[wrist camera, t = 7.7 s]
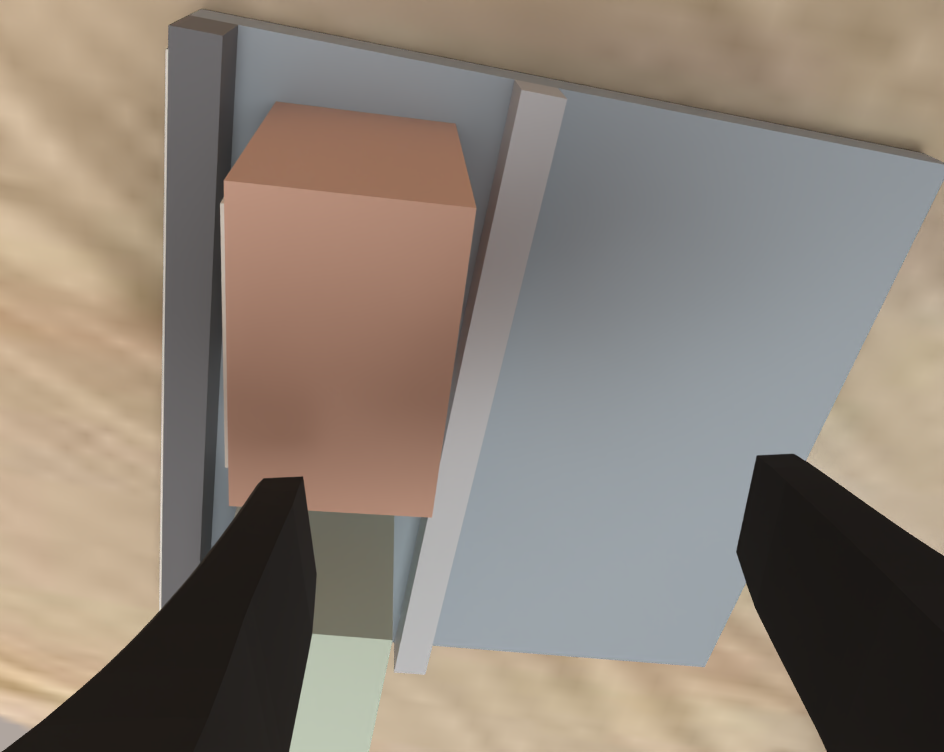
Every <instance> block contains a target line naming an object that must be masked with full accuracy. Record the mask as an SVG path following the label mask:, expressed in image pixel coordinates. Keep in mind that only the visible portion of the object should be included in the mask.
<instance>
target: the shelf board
mask: <svg viewBox="0 0 944 752" xmlns="http://www.w3.org/2000/svg"><path fill="white" fill-rule="evenodd" d="M276 101H277V102H285V103H293V104H301V105H310V106H318V107H326V108H334V109H342V110H350V111H358V112H366V113H374V114H382V115H391V116H399V117H407V118H415V119H423V120H431V121H439V122H447V123H455V124H456V127H457V131H458V135H459V139H460V143H461V147H462V152H463V156H464V160H465V164H466V168H467V172H468V176H469V180H470V184H471V188H472V192H473V196H474V200H475V204H476V208H477V209H476V216H475V222H474V229H473V236H472V243H471V250H470V257H469V264H468V271H467V278H466V285H465V292H464V299H463V306H462V313H461V320H460V327H459V334H458V341H457V348H456V355H455V362H454V369H453V376H452V382H451V389H450V396H449V403H448V410H447V417H446V424H445V431H444V438H443V445H442V452H441V459H440V466H439V473H438V480H437V487H436V494H435V501H434V508H433V515H432V518H428V517H410V516H394V569H393V640H392V642H394V672H397V673H411V674H425V673H426V669H427V665H428V661H429V657H430V653H431V649H432V645H433V646H445V647H458V648H470V649H483V650H496V651H508V652H521V653H534V654H546V655H559V656H571V657H584V658H597V659H609V660H622V661H635V662H647V663H660V664H672V665H685V666H698V667H705V665H706V663H707V661H708V659H709V657H710V655H711V653H712V651H713V649H714V647H715V645H716V643H717V641H718V639H719V637H720V635H721V633H722V631H723V628H724V626H725V624H726V622H727V620H728V618H729V616H730V614H731V612H732V610H733V608H734V606H735V604H736V602H737V600H738V598H739V596H740V594H741V592H742V590H743V588H744V586H745V584H746V581H745V578H744V575H743V572H742V569H741V566H740V562H739V559H738V556H737V553H736V549H737V545H738V540H739V535H740V531H741V526H742V521H743V517H744V512H745V507H746V503H747V498H748V493H749V489H750V484H751V479H752V475H753V470H754V465H755V461H756V456H757V455H774V454H795V455H797V456H799V457H800V458H802V459H803V460H805V461H806V459H807V457H808V455H809V453H810V451H811V449H812V447H813V445H814V443H815V441H816V439H817V437H818V435H819V433H820V431H821V429H822V427H823V425H824V423H825V421H826V419H827V417H828V415H829V413H830V410H831V408H832V406H833V404H834V402H835V400H836V398H837V396H838V394H839V392H840V390H841V388H842V386H843V384H844V382H845V380H846V378H847V376H848V374H849V372H850V370H851V368H852V366H853V364H854V362H855V360H856V358H857V355H858V353H859V351H860V349H861V347H862V345H863V343H864V341H865V339H866V337H867V335H868V333H869V331H870V329H871V327H872V325H873V323H874V321H875V319H876V317H877V315H878V313H879V311H880V309H881V307H882V305H883V303H884V300H885V298H886V296H887V294H888V292H889V290H890V288H891V286H892V284H893V282H894V280H895V278H896V276H897V274H898V272H899V270H900V268H901V266H902V264H903V262H904V260H905V258H906V256H907V254H908V252H909V250H910V248H911V245H912V243H913V241H914V239H915V237H916V235H917V233H918V231H919V229H920V227H921V225H922V223H923V221H924V219H925V217H926V215H927V213H928V211H929V209H930V207H931V205H932V203H933V201H934V199H935V197H936V195H937V193H938V190H939V188H940V186H941V184H942V182H943V180H944V163H943V162H941V161H939V160H937V159H935V158H932V157H930V156H928V155H926V154H924V153H920V152H915V151H910V150H905V149H900V148H895V147H890V146H885V145H880V144H875V143H870V142H865V141H860V140H855V139H850V138H845V137H840V136H835V135H830V134H825V133H820V132H815V131H810V130H805V129H800V128H795V127H790V126H785V125H780V124H775V123H770V122H765V121H760V120H755V119H750V118H745V117H740V116H735V115H730V114H725V113H720V112H715V111H710V110H705V109H700V108H695V107H690V106H685V105H680V104H675V103H670V102H665V101H660V100H655V99H650V98H645V97H640V96H635V95H630V94H625V93H620V92H615V91H610V90H605V89H600V88H595V87H590V86H585V85H580V84H575V83H570V82H565V81H560V80H555V79H550V78H545V77H540V76H535V75H530V74H525V73H520V72H515V71H510V70H505V69H500V68H495V67H490V66H485V65H480V64H475V63H470V62H465V61H460V60H455V59H450V58H445V57H440V56H435V55H430V54H425V53H420V52H415V51H410V50H405V49H400V48H395V47H390V46H385V45H380V44H375V43H370V42H365V41H360V40H355V39H350V38H345V37H340V36H335V35H330V34H325V33H320V32H315V31H310V30H305V29H300V28H295V27H290V26H285V25H280V24H275V23H270V22H265V21H260V20H255V19H250V18H245V17H240V16H235V15H230V14H225V13H219V12H214V11H209V10H204V9H200V10H198V11H196V12H194V13H192V14H190V15H188V16H186V17H184V18H182V19H180V20H178V21H176V22H174V23H172V24H170V25H169V29H168V48H167V49H166V66H165V156H164V245H163V334H162V423H161V513H160V602H159V611H160V610H161V609H162V608H163V606H164V605H165V604H166V603H167V602H168V601H169V600H170V598H171V597H172V596H173V595H174V594H175V593H176V591H177V590H178V589H179V588H180V587H181V586H182V585H183V583H184V582H185V581H186V580H187V579H188V578H189V576H190V575H191V574H192V573H193V571H194V570H195V569H196V568H197V566H198V565H199V564H200V563H201V561H202V560H203V559H204V557H205V556H206V555H207V554H208V552H209V551H210V550H211V548H212V547H213V546H214V545H215V543H216V542H217V541H218V539H219V538H220V537H221V535H222V534H223V533H224V531H225V530H226V529H227V527H228V526H229V524H230V523H231V522H232V520H233V519H234V516H235V512H236V509H237V507H236V506H229V482H228V468H225V444H224V390H223V336H222V282H221V227H220V203H221V201H222V199H223V198H224V179H225V178H226V176H227V175H228V173H229V172H230V170H231V169H232V167H233V166H234V164H235V163H236V161H237V160H238V158H239V157H240V155H241V154H242V152H243V150H244V149H245V147H246V146H247V144H248V143H249V141H250V140H251V138H252V137H253V135H254V134H255V132H256V131H257V129H258V128H259V126H260V125H261V123H262V122H263V120H264V119H265V117H266V116H267V114H268V113H269V111H270V110H271V108H272V107H273V105H274V104H275V102H276Z"/></svg>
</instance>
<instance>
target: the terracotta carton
mask: <svg viewBox="0 0 944 752" xmlns="http://www.w3.org/2000/svg"><path fill="white" fill-rule="evenodd" d="M476 209H477V208H476V204H475V200H474V196H473V192H472V188H471V184H470V180H469V176H468V172H467V168H466V164H465V160H464V156H463V152H462V147H461V143H460V139H459V135H458V131H457V127H456V124H455V123H447V122H439V121H431V120H423V119H415V118H407V117H399V116H391V115H382V114H374V113H366V112H358V111H350V110H342V109H334V108H326V107H318V106H310V105H301V104H293V103H285V102H277V101H276V102H275V104H274V105H273V107H272V108H271V110H270V111H269V113H268V114H267V116H266V117H265V119H264V120H263V122H262V123H261V125H260V126H259V128H258V129H257V131H256V132H255V134H254V135H253V137H252V138H251V140H250V141H249V143H248V144H247V146H246V147H245V149H244V150H243V152H242V154H241V155H240V157H239V158H238V160H237V161H236V163H235V164H234V166H233V167H232V169H231V170H230V172H229V173H228V175H227V176H226V178H225V179H224V198H223V199H222V201H221V203H220V227H221V282H222V336H223V390H224V444H225V468H228V482H229V506H236V507H242V506H243V505H244V503H245V502H246V500H247V499H248V497H249V496H250V494H251V493H252V491H253V490H254V489H255V487H256V486H257V484H258V483H259V482H260V481H261V480H262V479H263V478H279V477H301V476H303V479H304V486H305V493H306V501H307V508H308V511H323V512H341V513H358V514H375V515H393V516H410V517H428V518H432V515H433V508H434V501H435V494H436V487H437V480H438V473H439V466H440V459H441V452H442V445H443V438H444V431H445V424H446V417H447V410H448V403H449V396H450V389H451V382H452V376H453V369H454V362H455V355H456V348H457V341H458V334H459V327H460V320H461V313H462V306H463V299H464V292H465V285H466V278H467V271H468V264H469V257H470V250H471V243H472V236H473V229H474V222H475V216H476Z"/></svg>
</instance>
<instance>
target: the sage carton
mask: <svg viewBox="0 0 944 752" xmlns="http://www.w3.org/2000/svg"><path fill="white" fill-rule="evenodd" d="M241 508H242V507H237V509H236V512H235V516H236V515H237V513H238V512H239V510H240V509H241ZM308 515H309V522H310V529H311V536H312V543H313V550H314V558H315V565H316V572H317V579H316V594H315V608H314V620H313V632H312V638H311V643H310V649H309V654H308V659H307V664H306V669H305V675H304V680H303V685H302V690H301V695H300V700H299V705H298V710H297V715H296V720H295V725H294V730H293V735H292V740H291V745H290V750H289V752H369V749H370V744H371V740H372V735H373V730H374V725H375V721H376V716H377V711H378V706H379V702H380V697H381V692H382V688H383V683H384V678H385V673H386V669H387V664H388V659H389V654H390V650H391V645H392V640H393V569H394V516H393V515H375V514H358V513H341V512H323V511H308ZM235 516H234V518H235Z"/></svg>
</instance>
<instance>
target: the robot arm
mask: <svg viewBox="0 0 944 752" xmlns="http://www.w3.org/2000/svg"><path fill="white" fill-rule="evenodd" d="M736 553H737V556H738V559H739V562H740V566H741V569H742V572H743V575H744V578H745V581H746V584H747V586H748V589H749V592H750V595H751V597H752V600H753V603H754V606H755V608H756V610H757V612H758V615H759V617H760V619H761V621H762V623H763V625H764V627H765V629H766V631H767V633H768V635H769V637H770V639H771V641H772V643H773V645H774V647H775V649H776V651H777V653H778V655H779V657H780V659H781V661H782V663H783V665H784V666H785V668H786V670H787V672H788V674H789V676H790V678H791V680H792V682H793V684H794V686H795V688H796V690H797V692H798V694H799V696H800V698H801V700H802V702H803V704H804V706H805V708H806V710H807V711H808V713H809V715H810V717H811V719H812V721H813V723H814V725H815V727H816V729H817V731H818V733H819V735H820V737H821V740H822V742H823V744H824V746H825V748H826V750H827V752H944V556H943V555H942V554H940V553H938V552H937V551H935V550H934V549H932V548H931V547H929V546H928V545H926V544H924V543H923V542H921V541H920V540H918V539H917V538H915V537H914V536H912V535H911V534H909V533H908V532H906V531H905V530H903V529H902V528H901V527H899V526H898V525H896V524H895V523H893V522H892V521H890V520H889V519H887V518H886V517H885V516H883V515H882V514H880V513H879V512H877V511H876V510H875V509H873V508H872V507H870V506H869V505H867V504H866V503H865V502H863V501H862V500H860V499H859V498H858V497H856V496H855V495H853V494H852V493H851V492H849V491H848V490H846V489H845V488H844V487H842V486H841V485H839V484H838V483H837V482H835V481H834V480H832V479H831V478H830V477H828V476H827V475H825V474H824V473H822V472H821V471H820V470H818V469H817V468H815V467H814V466H812V465H811V464H809V463H808V462H806V461H805V460H803V459H802V458H800V457H799V456H797V455H795V454H774V455H757V456H756V461H755V465H754V470H753V475H752V479H751V484H750V489H749V493H748V498H747V503H746V507H745V512H744V517H743V521H742V526H741V531H740V535H739V540H738V545H737V549H736ZM316 579H317V572H316V565H315V558H314V550H313V543H312V536H311V529H310V522H309V515H308V508H307V501H306V493H305V486H304V479H303V476H301V477H279V478H263V479H262V480H261V481H260V482H259V483H258V484H257V486H256V487H255V489H254V490H253V491H252V493H251V494H250V496H249V497H248V499H247V500H246V502H245V503H244V505H243V506H242V508H241V509H240V510H239V512H238V513H237V515H236V516H235V518H234V519H233V520H232V522H231V523H230V524H229V526H228V527H227V529H226V530H225V531H224V533H223V534H222V535H221V537H220V538H219V539H218V541H217V542H216V543H215V545H214V546H213V547H212V548H211V550H210V551H209V552H208V554H207V555H206V556H205V557H204V559H203V560H202V561H201V563H200V564H199V565H198V566H197V568H196V569H195V570H194V571H193V573H192V574H191V575H190V576H189V578H188V579H187V580H186V581H185V582H184V583H183V585H182V586H181V587H180V588H179V589H178V590H177V591H176V593H175V594H174V595H173V596H172V597H171V598H170V600H169V601H168V602H167V603H166V604H165V605H164V606H163V608H162V609H161V610H160V611H159V612H158V613H157V614H156V616H155V617H154V618H153V619H152V620H151V621H150V622H149V623H148V624H147V625H146V626H145V627H144V628H143V629H142V630H141V632H140V633H139V634H138V635H137V636H136V637H135V638H134V639H133V640H132V641H131V642H130V643H129V644H128V645H127V646H126V647H125V648H124V649H123V650H122V651H121V652H120V653H119V654H118V655H117V656H115V657H114V658H113V659H112V660H111V661H110V662H109V663H108V664H107V665H106V666H105V667H104V668H103V669H102V670H101V671H100V672H99V673H97V674H96V675H95V676H94V677H93V678H92V679H91V680H90V681H88V682H87V683H86V684H85V685H84V686H83V687H82V688H81V689H79V690H78V691H77V692H76V693H75V694H74V695H72V696H71V697H70V698H69V699H68V700H66V701H65V702H64V703H63V704H62V705H61V706H59V707H58V708H57V709H56V710H55V711H53V712H52V713H51V714H50V715H49V716H48V717H46V718H45V719H44V720H43V721H41V722H40V723H39V724H38V725H36V726H35V727H34V728H32V729H31V730H30V731H29V732H27V733H26V734H25V735H23V736H22V737H21V738H19V739H18V740H17V741H15V742H14V743H13V744H12V745H10V746H9V747H8V748H7V749H5V750H4V751H2V752H289V750H290V745H291V740H292V735H293V730H294V725H295V720H296V715H297V710H298V705H299V700H300V695H301V690H302V685H303V680H304V675H305V669H306V664H307V659H308V654H309V649H310V643H311V638H312V632H313V620H314V608H315V594H316Z"/></svg>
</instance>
